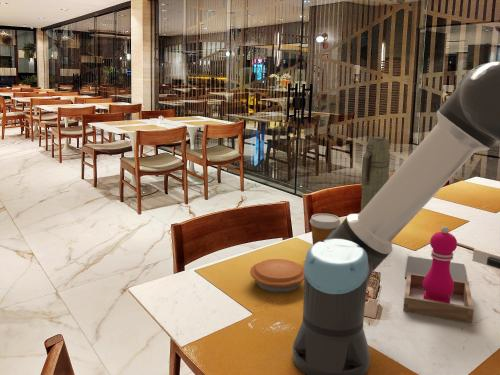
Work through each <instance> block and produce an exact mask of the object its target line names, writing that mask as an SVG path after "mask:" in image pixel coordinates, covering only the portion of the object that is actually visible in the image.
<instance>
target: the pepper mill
mask: <svg viewBox="0 0 500 375" xmlns="http://www.w3.org/2000/svg"><path fill="white" fill-rule="evenodd" d="M429 245H430V247H431V248H432V249H431V251H430V252H431V253H430V257H431V258H432V260H433V261H432V266H431V268H430V270H429V272H428V273H427V274H426V276H425V278H424V280H423V288H424V289H423V291H424V292H423V297H422V299H428V300H433V301H439V302H445V303H451V295H452V293H453V292H454V283H453V279H452V277H451V274H450V269H449V268H450V262H452V260H453V259H454V253H453V252H455V251H456V249H457V247H458V241H457V239H456V236H454V235H453V234H452V233H450V228H449V227H447V226H442V227H441V229H440V231H438V232H435V233H433V235H432V236H431V238H430V241H429Z"/></svg>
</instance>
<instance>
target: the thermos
mask: <svg viewBox="0 0 500 375" xmlns="http://www.w3.org/2000/svg"><path fill="white" fill-rule="evenodd" d="M390 160H391V152H390V144H389V139H388V138H386V137H385V136H371V137H369V138H368V141H367V142H366V144H365V153H364V154H363V156H362V165H361V166H362V167H361V168H362V169H361V178H360V179H361V180H360V183H361V184H360V186H361V187H360V189H361V191H362V192H361V201H360V202H361V203H360V212H361V211H362V210H363V209H364V208H365V206H366V205H367V204H368V203H369V202H370V201H371V200H372V198H373V197H374V196H375V195H376V194H377V193H378V191H379V190H380V189H381V188H382V187H383V186H384V185H385V183H386V182H387V181H388V180H389V179H390V172H389V169H390Z"/></svg>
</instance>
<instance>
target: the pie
mask: <svg viewBox="0 0 500 375" xmlns="http://www.w3.org/2000/svg"><path fill="white" fill-rule="evenodd" d="M249 274H250V276H251V277H252V278H253V279H254V280H255V283H256V284H257V285H258V287H260V289H262V290H264V291H267V292H270V293H276V294H280V293H281V294H283V293H289V292H293V291H295V290H297V289H298V288H299V286H300V285H301V284H302V282H304V275H305V274H304V265H301V264H300V263H297V262H294V261H293V260H289V259H285V258H284V259H283V258H272V259H265V260H261V261H260V262H257V263H254V264H253V265H252V266H251V267H250V270H249Z"/></svg>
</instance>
